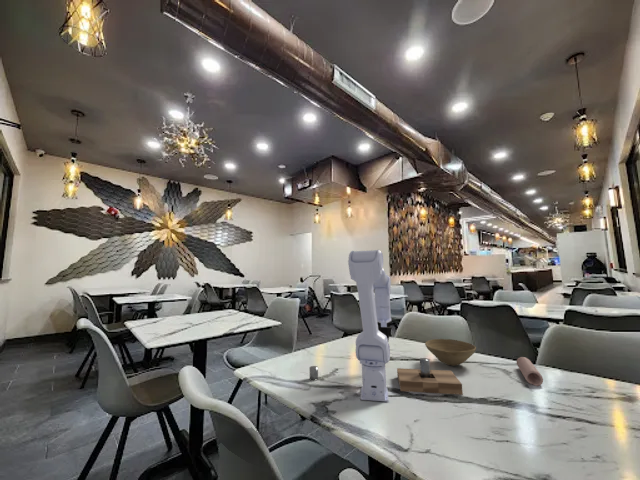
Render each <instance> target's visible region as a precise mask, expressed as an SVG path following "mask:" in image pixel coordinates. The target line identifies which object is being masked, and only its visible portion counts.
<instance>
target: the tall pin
mask: <svg viewBox="0 0 640 480" xmlns="http://www.w3.org/2000/svg"><path fill="white" fill-rule="evenodd" d="M419 369H420V374H421V378H430V370H431V365H430V358H426V357H420V358H419Z"/></svg>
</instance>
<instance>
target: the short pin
mask: <svg viewBox="0 0 640 480" xmlns="http://www.w3.org/2000/svg"><path fill="white" fill-rule="evenodd" d="M310 379H311V380H315V379H318V380H319V367H318V365H317V366H316V365H312V366H309V380H310ZM311 380H310V381H311Z"/></svg>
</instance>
